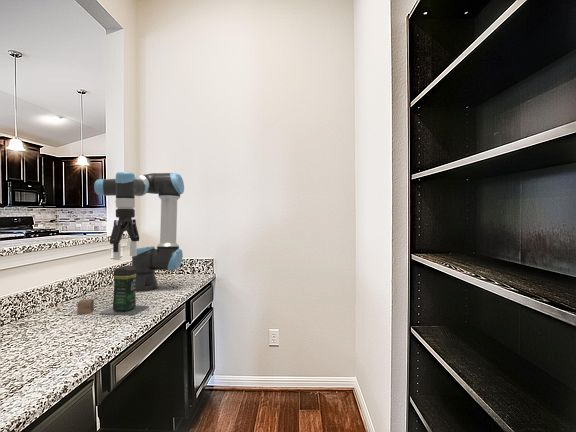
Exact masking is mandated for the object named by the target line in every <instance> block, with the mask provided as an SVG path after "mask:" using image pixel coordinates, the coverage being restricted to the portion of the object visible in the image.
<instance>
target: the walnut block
mask: <svg viewBox="0 0 576 432" xmlns="http://www.w3.org/2000/svg"><path fill="white" fill-rule="evenodd" d="M76 309H77V310H76V311H77V312H76V313H77V315H78V316H79V315H90V313H91V314H93V312H94V311H95V310H94V309H95V301H94V298H93V299H92V298H91V299H80V300H79V301H77V308H76Z"/></svg>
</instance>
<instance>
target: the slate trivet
mask: <svg viewBox="0 0 576 432" xmlns="http://www.w3.org/2000/svg"><path fill="white" fill-rule="evenodd" d="M149 307H150V306H149V305H136V306H135V308H133V309H131V310H129V311H122V312H118V311H114V310H113V306H112V307H109V308H108V309H105V310H103V311H100V312H99V314H105V315H106V316H107V315H109V316H136V315H139V313H141V312H143V311H145V310H147V309H149Z"/></svg>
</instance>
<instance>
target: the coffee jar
mask: <svg viewBox="0 0 576 432" xmlns="http://www.w3.org/2000/svg"><path fill="white" fill-rule="evenodd" d="M135 281H136V268H135V267H134V266H132V265H123V266H119V267H117V268H115V269H114V270H113V299H112V307H113V310H114V311H118V312H122V311H129V310H131V309H133V308H135V306H137V300H136V299H137V298H136V291H135Z"/></svg>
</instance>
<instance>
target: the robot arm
mask: <svg viewBox="0 0 576 432" xmlns="http://www.w3.org/2000/svg"><path fill="white" fill-rule="evenodd" d="M93 185H94V186H93V188H94V193H95V194H96V195H97V196H103V197H106V196H111V197H113V196H115V201H114V202H115V208H116V209H115V217H116V218H118V219H114V221H113V227H112V231H111V235H110V239H109V243H110V245H112V246H113V247H112V249H113V251H112V253H113V255H112V257H113V258H112V259H113V260H112V261H121V258H122V257H121V252H122V251H121V248H122V247H121V240H122V238H123V235H124V233H125V232H127V234H128V235H127V236H128V237H129V239H130V241H129V256H130V257H131V260H132V261H131V262H132V263H131V266H134V267H135V268H136V281H135V292H146V291H147V292H149V291H153V290H157V289H158V288H159V283H158V280H157V277H156V275H155V272H156V271H168V272H169V271H176V270H178V269H179V268H180V267H181V264H182V262H183V257H184V256H183V254H184V253H183V250H182V249H181V248H180V245H179V244H178V243H177V233H178V232H177V231H178V230H177V227H178V225H177V224H178V200H179V199H180V198H181V195H182V194H184V192H185V184H184V179H183V177H182V176H181V174H179V173H176V172H175V173H174V172H159V173H156V172H151V173H147V174H146V173H145V174H140V175H136V176H135V173H134V172H129V171H118V172H116V173H115V178H107V179H106V178H102V179H96V180H95V182H94V184H93ZM147 194H150V195H151V194H154V195H155V194H156V195H158V198H159V199H160V231H159V232H160V233H159V237H160V238H159V239H160V240H159V244H157V245H156V247H155V246H145V247H144V246H143V247H138V248H137V246H138V244H137V242H139V241H140V235H139V230H138V227H137V220H136V219H135V216H136V215H135V214H136V210H135V208H136V198H135V197H143V196H145V195H147ZM132 218H134V219H132Z"/></svg>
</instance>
